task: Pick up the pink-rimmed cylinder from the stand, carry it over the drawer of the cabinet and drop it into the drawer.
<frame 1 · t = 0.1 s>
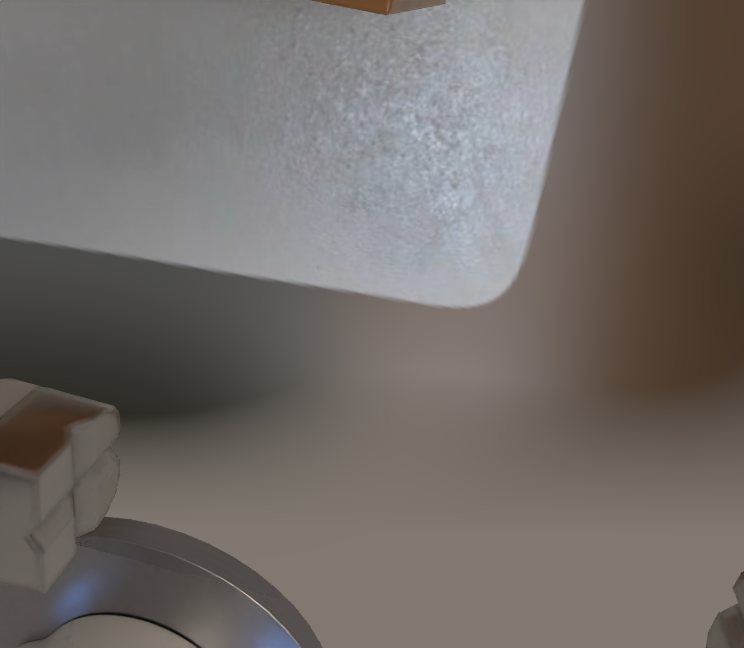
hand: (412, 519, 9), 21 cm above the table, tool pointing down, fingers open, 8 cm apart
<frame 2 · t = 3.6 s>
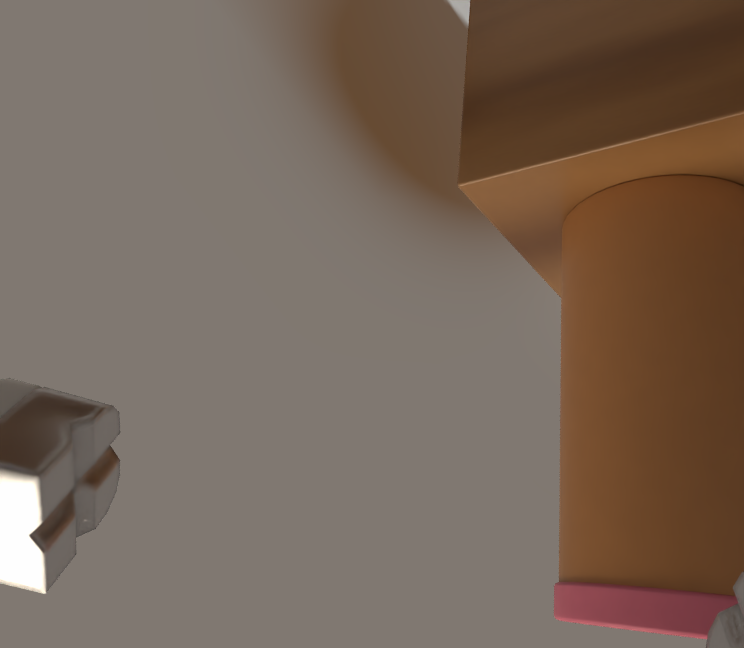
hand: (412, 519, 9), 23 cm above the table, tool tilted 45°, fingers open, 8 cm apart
pink-rimmed cylinder: (658, 226, 18), point 14 cm above the table, touching stand
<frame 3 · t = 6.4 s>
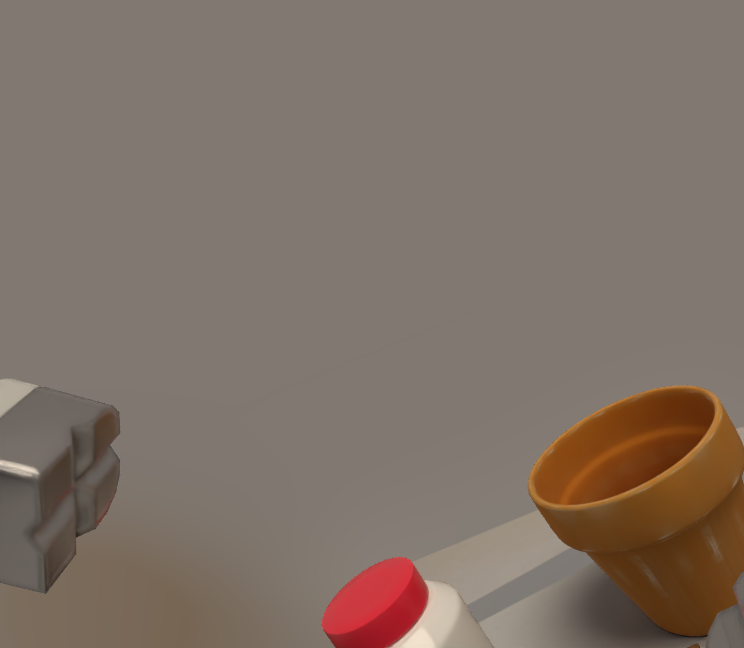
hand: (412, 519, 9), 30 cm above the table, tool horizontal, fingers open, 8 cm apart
flower pot: (710, 594, 49), on the table
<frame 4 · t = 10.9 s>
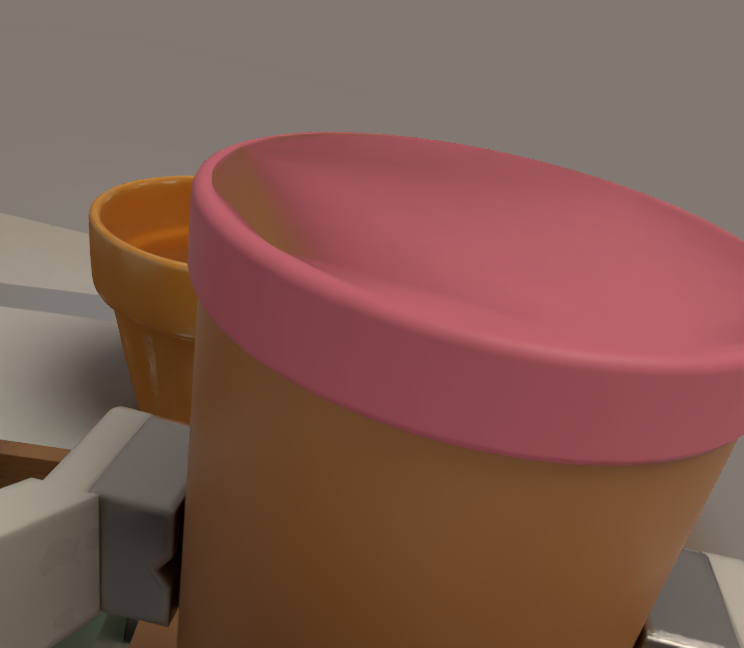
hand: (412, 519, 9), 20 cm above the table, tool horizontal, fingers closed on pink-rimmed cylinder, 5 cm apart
flower pot: (217, 420, 42), on the table
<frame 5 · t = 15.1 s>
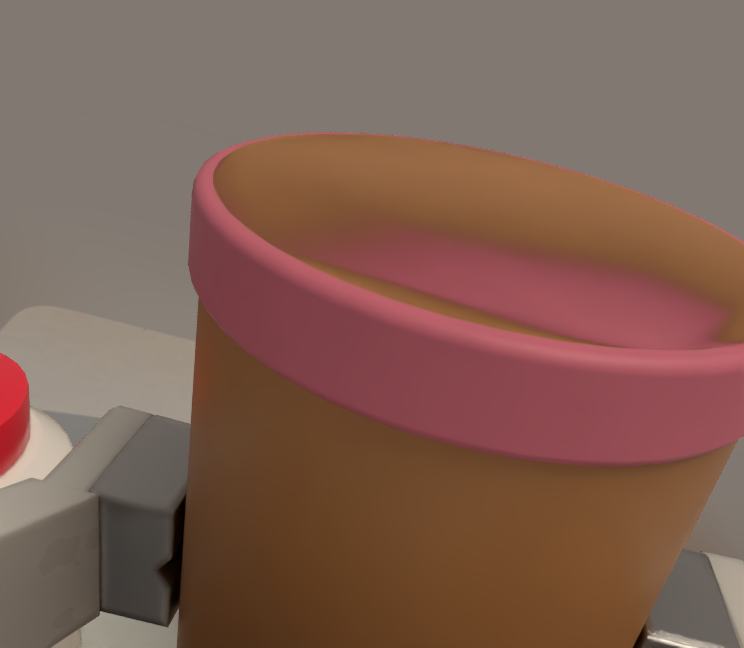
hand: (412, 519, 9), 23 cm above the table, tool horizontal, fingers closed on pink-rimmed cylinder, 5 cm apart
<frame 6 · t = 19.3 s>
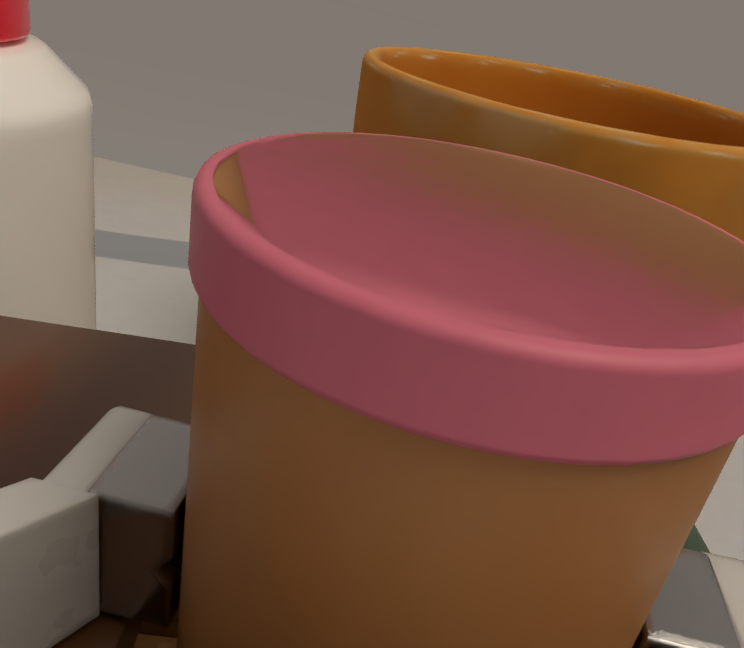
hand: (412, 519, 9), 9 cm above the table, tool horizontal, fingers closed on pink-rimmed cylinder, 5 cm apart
flower pot: (482, 416, 29), on the table
when the fingers open (9 cm above the table, at t = 19.6 s): pink-rimmed cylinder drops 2 cm, resting on drawer.
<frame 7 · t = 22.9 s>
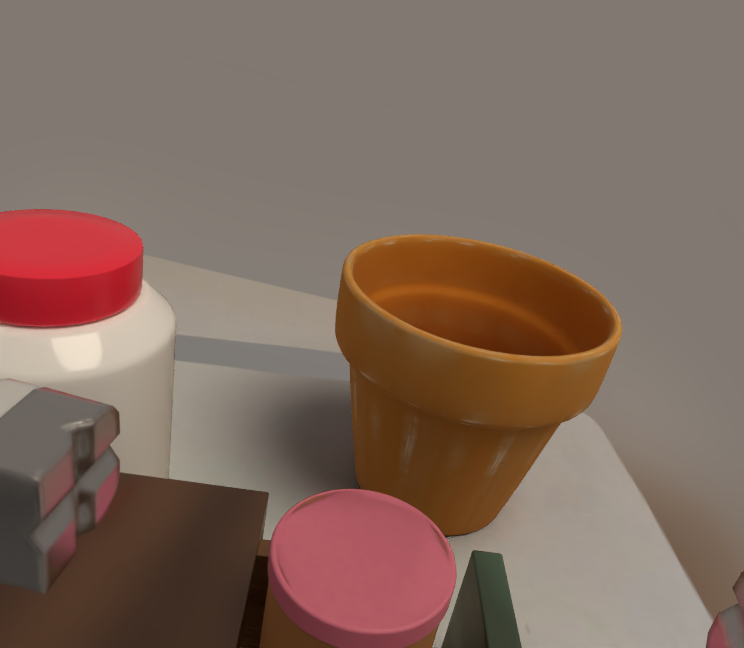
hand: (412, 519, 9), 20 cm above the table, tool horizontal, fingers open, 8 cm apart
flower pot: (428, 486, 41), on the table
pill bottle: (60, 514, 34), on the table
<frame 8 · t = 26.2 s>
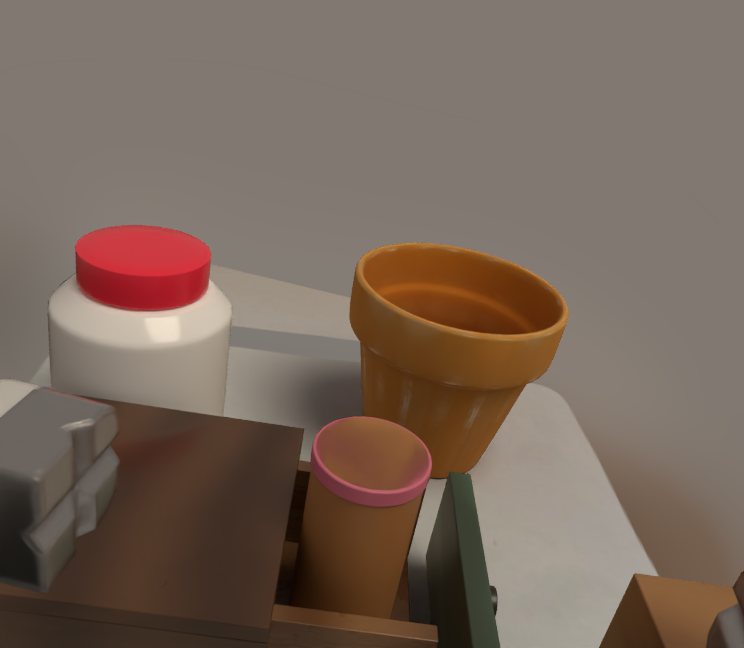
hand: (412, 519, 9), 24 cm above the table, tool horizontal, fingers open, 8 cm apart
cabinet: (125, 613, 34), on the table
drawer: (343, 583, 33), point 4 cm above the table, slide at 8.0 cm, touching pink-rimmed cylinder
pink-rimmed cylinder: (338, 612, 34), point 2 cm above the table, touching drawer
flower pot: (422, 443, 52), on the table
pill bottle: (140, 456, 45), on the table
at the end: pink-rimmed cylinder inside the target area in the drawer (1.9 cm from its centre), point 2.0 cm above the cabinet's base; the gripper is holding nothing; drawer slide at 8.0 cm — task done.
